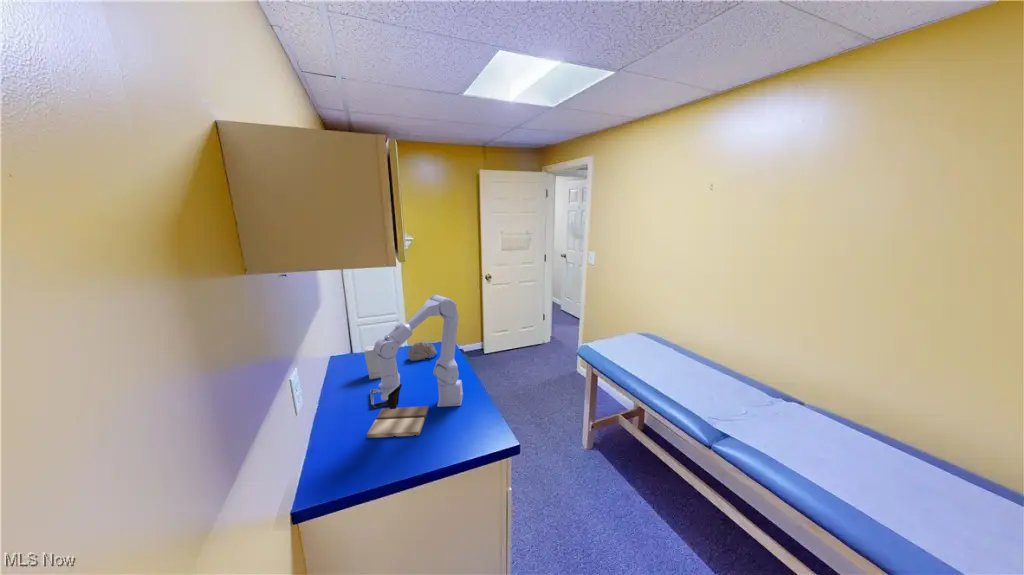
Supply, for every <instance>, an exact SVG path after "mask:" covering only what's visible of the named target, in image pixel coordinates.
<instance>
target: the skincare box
mask: <svg viewBox="0 0 1024 575" xmlns="http://www.w3.org/2000/svg"><path fill="white" fill-rule="evenodd" d="M374 346H375V344H374V345H373V344H372V345H367V346H365V349H364V351H363V352H364V358H365V363H366V367H367V372H368V377H369V380H375V379H381V376H380V369H379V363H378V354H377V353H375V352H374V350H373V348H374Z"/></svg>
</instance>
